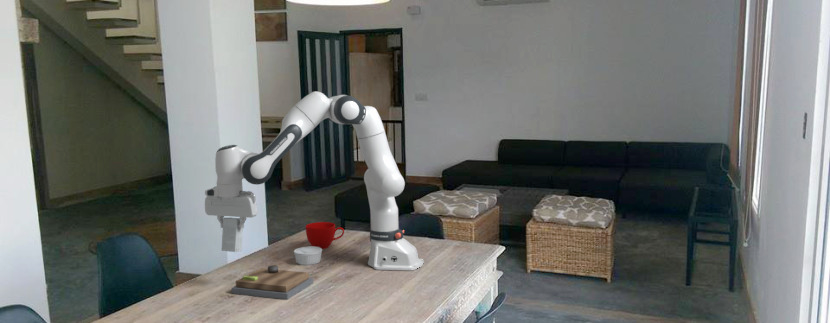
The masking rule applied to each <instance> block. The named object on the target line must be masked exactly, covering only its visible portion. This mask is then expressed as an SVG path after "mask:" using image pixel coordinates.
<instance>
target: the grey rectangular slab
mask: <svg viewBox="0 0 830 323" xmlns="http://www.w3.org/2000/svg"><path fill="white" fill-rule="evenodd" d="M312 284H314V278H313V277H309V278H308V279H307V280H305V281H303V282H302V283H300V284H299V285H297V286H295V287H294V288H292V289H290V290H289V291H287V292H281V291H271V290H262V289H253V288H243V287H236V285H234V286H232V287H231V294H233V295H234V294H236V295H243V296H253V297H260V298H271V299H279V300H289V299H291V298H292V297H294V296H295V295H298V294H299V293H301V292H302V291H303V290H305V289H306V288H309V287H310V286H311V285H312Z"/></svg>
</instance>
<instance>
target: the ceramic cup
mask: <svg viewBox="0 0 830 323" xmlns="http://www.w3.org/2000/svg"><path fill="white" fill-rule="evenodd" d="M338 230H341V231H342V234H341V235H339V236H336V235H335V233H336V232H337V231H338ZM344 234H345V229H344V228H343V227H340V226H339V227H336V224H335V223H334V222H329V221H327V222H326V221H319V222H318V221H317V222H311V223H308V224H306V225H305V236H306V238H307V241H308V243H309V244H310V246H314V247H320V248H322V250H325V249H328V248H329V247H330V246H331V244H332V243H333V241H336V240H338V239H341V238H342V237H343V236H344ZM335 236H336V237H335Z"/></svg>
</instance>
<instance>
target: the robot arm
mask: <svg viewBox="0 0 830 323" xmlns="http://www.w3.org/2000/svg"><path fill="white" fill-rule="evenodd" d="M326 119H327V120H329V121H331V122H332V123H335V124H339V125H352V126H353V128H354V130H355V135H356V138H357V141H358V145H359V148H360V152H361V156H362V158H363V161H364V162H365V164H366V165H367V169H366V171H365V172H364V175H363V181H364V184H365V188H366V192H367V198H368V199H367V200H368V205H369V210H370V211H369V213H370V229H369V242H370V247H369V248H370V250H369V256H368V261H367V264H368V266H369V267H372V268H373V269H374V270H378V271H380V270H382V271H390V270H391V271H415V270H417V268H418V269H420V268H421V267H422V266H424V264H423V263H425V261H424V259H423V258H419V255H418V254H419V253H418V250H417V248H416V246H414V245H413V244H412V243H411V242H409V241H408V240H407V239H405V238H404V234H405V230H404V229H403V230H402V229H401V228H400V227H399V207H398V205H397V202H396V199H395V197H397V196H399V195H401V194H402V193H403V191H404V189H405V185H406V182H405V179H404V177H403V175H402V174H401V172H400V170H399V168H398V165H397V163H396V160H395V157H394V156H393V153H392V151H391V148H390V145H389V142H388V138H387V134H386V130H385V126H384V124H383V121H382V118H381V116H380V114H379V112H378V110H377V108H376V107H374V106H371V105H363V103H361V102H360V100H358V99H357V98H356V97H355V96H352V95H347V94H340V95H332V96H329V97H328V96H327V95H325V93H323V92H321V91H312V92H310V93H309V94H307V95H305V96H304V97H303V98H302V99H300V100H299V101H298V102H296V104H295V105H293V106H292V107H291V108H290V109H289V110H288V112H287V113H286V114H285V116H284V117H283V119H282V121H281V127H280V132H279V133H278V135H277V136H276V137H275V138H274V139H273V141H272V142H270V144H268V146H266V148H265V149H264V150H262V151H261V152H260V153H257V152H253V151H249V150H246V149H245V148H242V147H240V146H238V145H236V144H229V145H226V146H222V147H220V148H218V149H217V151H215V152H216V153H215V158H214V159H215V161H214V162H215V172H216V173H215V174H216V178H217V179H216V186H214V187H212V188H208V189H206V190H205V191H204V195H205V198H204V211H205V214H206V215H207V216H213V217H214V216H216V218H217V220H218V222H219V223H220V228H221V229H223V218H225V217H232V218H240V220H241V222H240V224H238V229H243V230H244V229H245V223H246V221H247V218H253V217H256V216H257V215H258V206H257V201H256V195H255V193H254V192H252V190H251V191H250V190H248V191H246V190H243V189H244V188H243V180H245V181H247V183H249V184H252V185H258V186H259V185H262V184H264V183H266V182H267V181H269V179H270V178H271V177H272V175H273V172H274V169H275V167H276V166H277V164H278V163H279V162H280V160H281V159H283V157H284V156H285V155H287V153H288V152H289V151H290V150H291V149H292V148H293V147H294V146H295V145H296V144H297V143H299V142H300V141H301V140H303V138H305V137H306V136H308V134H310V133H311V132H312V131H313V130H314V129H315V128H316V127H317V126H318V125H319V124H320V123H321V122H323V121H324V120H326ZM419 267H420V268H419Z"/></svg>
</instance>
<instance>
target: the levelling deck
mask: <svg viewBox="0 0 830 323" xmlns="http://www.w3.org/2000/svg"><path fill="white" fill-rule="evenodd" d="M308 278H310V272H308V271H306V272H304V271H294V270H293V271H292V270H287V269H286V270H283V269H279V266H278V265H274V264H272V265H269V266H267V268H262V267H261V268H259V269H257V270H255V271H253V272H251V273H249V274H247V275H244V276H242V277H241V278H239V279H237V280H235V286H236V287H243V288H253V289H262V290H271V291H281V292H287V291H289V290H290V289H292V288H294V287H295V286H297V285H299V284H300V283H302V282H303V281H305V280H307V279H308Z"/></svg>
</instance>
